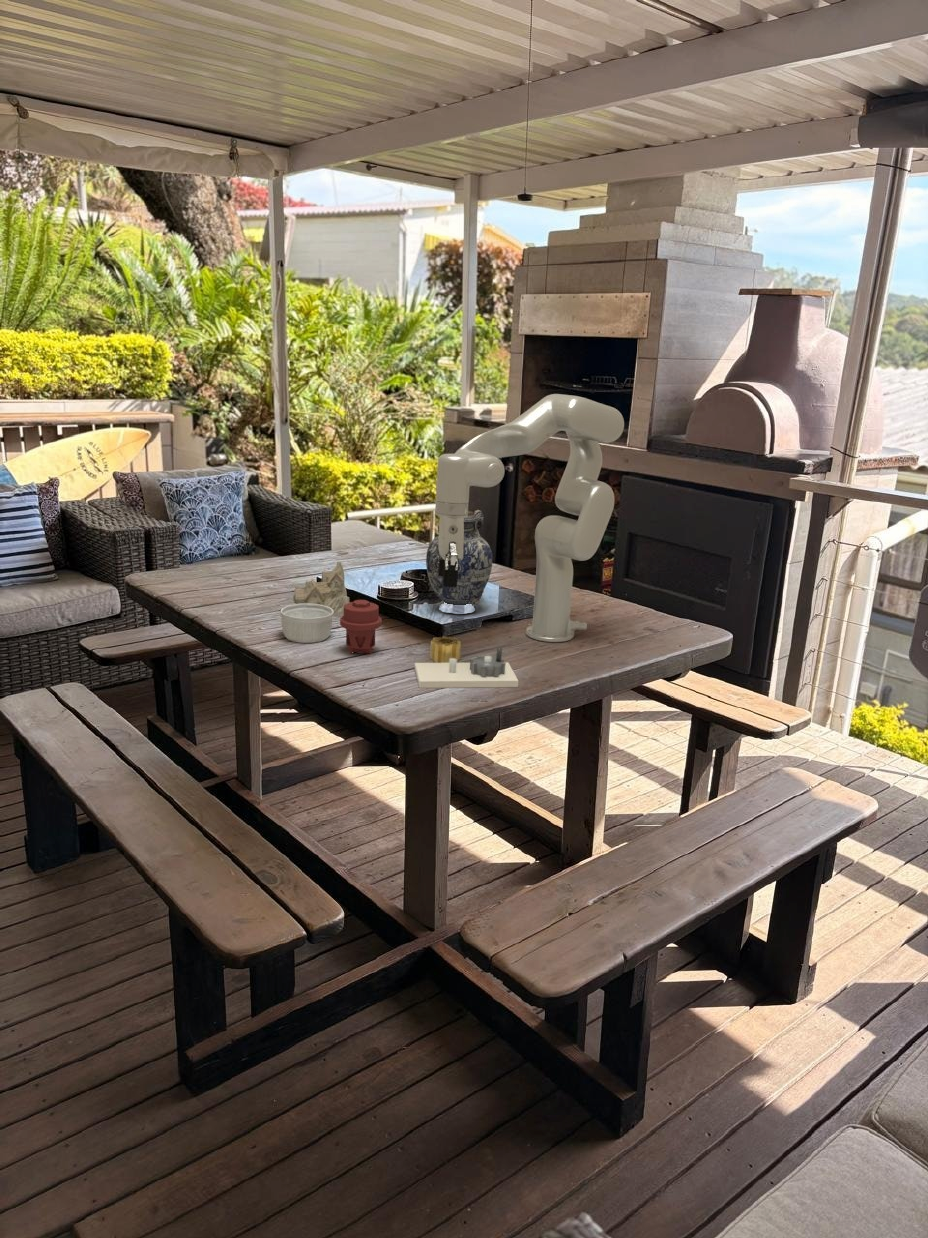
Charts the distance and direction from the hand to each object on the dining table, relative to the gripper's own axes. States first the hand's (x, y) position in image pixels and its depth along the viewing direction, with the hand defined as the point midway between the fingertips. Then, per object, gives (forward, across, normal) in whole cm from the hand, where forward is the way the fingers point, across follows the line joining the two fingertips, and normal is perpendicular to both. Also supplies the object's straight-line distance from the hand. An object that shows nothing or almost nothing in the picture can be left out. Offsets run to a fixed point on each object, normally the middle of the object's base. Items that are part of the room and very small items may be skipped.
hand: (447, 581), depth 215 cm
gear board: (+19, -13, -4) cm, 24 cm away
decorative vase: (+19, +41, -9) cm, 46 cm away
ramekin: (+20, +17, +33) cm, 42 cm away
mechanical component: (+20, +6, +20) cm, 28 cm away
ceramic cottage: (+20, +41, +29) cm, 54 cm away
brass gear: (+19, 0, 0) cm, 19 cm away
